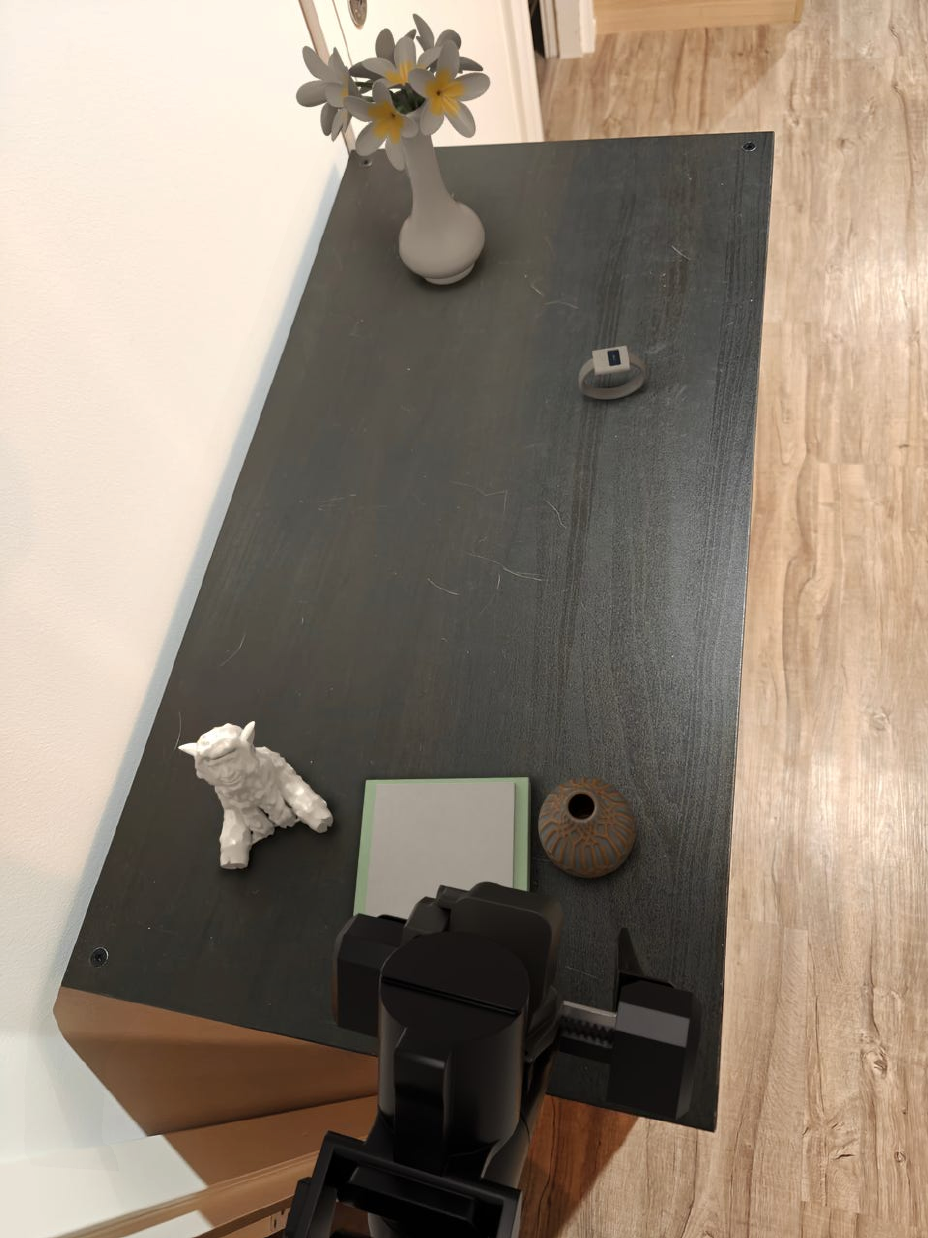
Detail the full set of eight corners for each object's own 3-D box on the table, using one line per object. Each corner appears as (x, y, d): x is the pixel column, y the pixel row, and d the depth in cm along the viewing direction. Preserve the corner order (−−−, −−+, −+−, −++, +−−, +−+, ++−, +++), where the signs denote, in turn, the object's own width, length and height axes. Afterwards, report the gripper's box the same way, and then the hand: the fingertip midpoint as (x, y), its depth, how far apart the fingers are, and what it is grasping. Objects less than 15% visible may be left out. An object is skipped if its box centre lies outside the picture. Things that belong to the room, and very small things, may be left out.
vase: (533, 872, 71) (517, 841, 63) (558, 786, 74) (546, 746, 66) (623, 898, 69) (618, 870, 61) (646, 808, 72) (644, 771, 64)
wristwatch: (582, 410, 90) (578, 374, 86) (579, 388, 92) (575, 352, 87) (647, 400, 90) (646, 363, 85) (643, 378, 91) (642, 341, 87)
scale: (529, 959, 68) (525, 955, 66) (355, 956, 70) (347, 952, 69) (531, 783, 74) (528, 775, 72) (371, 786, 76) (364, 778, 75)
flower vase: (380, 223, 108) (309, -2, 87) (536, 228, 103) (502, -10, 82) (345, 306, 103) (260, 89, 81) (507, 316, 98) (463, 86, 76)
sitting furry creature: (229, 878, 75) (159, 838, 65) (203, 784, 79) (134, 732, 69) (338, 828, 75) (286, 780, 65) (306, 736, 80) (253, 678, 69)
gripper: (705, 1033, 36) (726, 828, 51) (271, 925, 42) (400, 766, 56) (673, 1242, 40) (701, 997, 54) (278, 1119, 45) (397, 924, 59)
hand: (545, 916), depth 56 cm, fingers open, 9 cm apart
